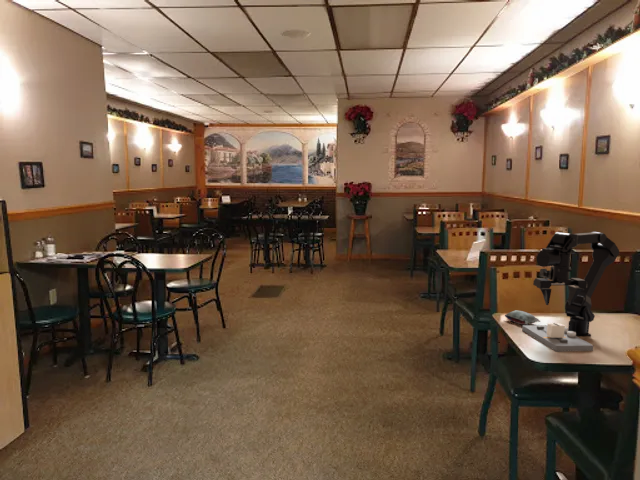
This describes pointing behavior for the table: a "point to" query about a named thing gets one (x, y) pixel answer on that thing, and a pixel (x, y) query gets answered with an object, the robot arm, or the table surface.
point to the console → (558, 339)
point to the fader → (555, 330)
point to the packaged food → (521, 317)
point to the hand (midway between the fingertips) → (558, 304)
